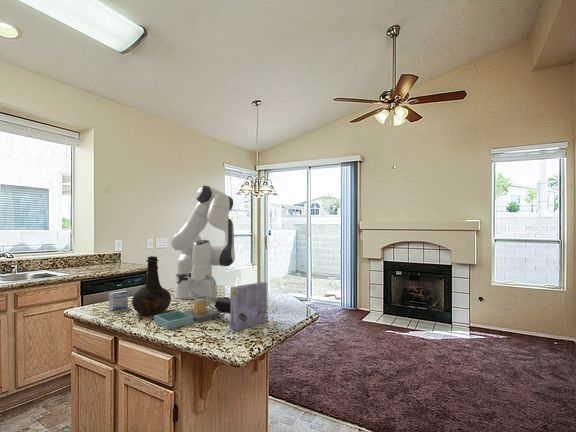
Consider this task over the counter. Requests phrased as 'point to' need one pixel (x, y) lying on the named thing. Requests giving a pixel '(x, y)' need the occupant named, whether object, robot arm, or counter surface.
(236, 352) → the counter surface
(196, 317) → the socket block
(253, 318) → the cake pan box
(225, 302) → the end cap
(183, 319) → the parts tray
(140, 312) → the dark brown vase
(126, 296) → the medicine box
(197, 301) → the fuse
